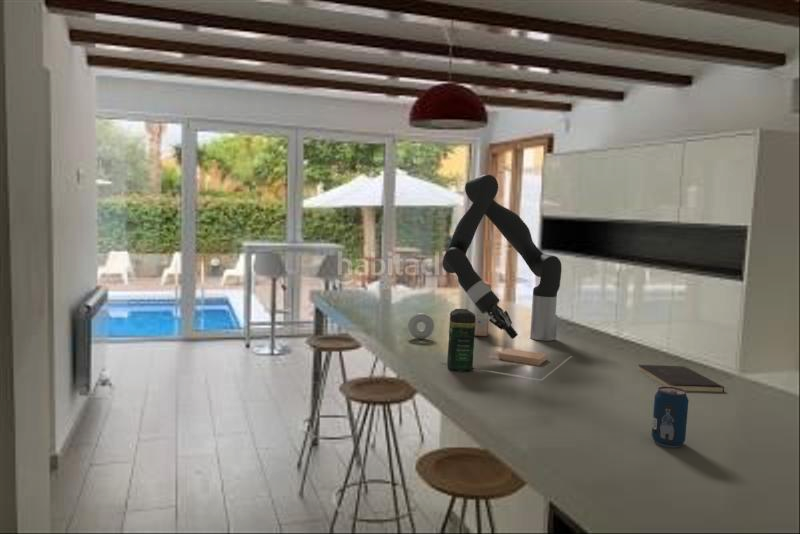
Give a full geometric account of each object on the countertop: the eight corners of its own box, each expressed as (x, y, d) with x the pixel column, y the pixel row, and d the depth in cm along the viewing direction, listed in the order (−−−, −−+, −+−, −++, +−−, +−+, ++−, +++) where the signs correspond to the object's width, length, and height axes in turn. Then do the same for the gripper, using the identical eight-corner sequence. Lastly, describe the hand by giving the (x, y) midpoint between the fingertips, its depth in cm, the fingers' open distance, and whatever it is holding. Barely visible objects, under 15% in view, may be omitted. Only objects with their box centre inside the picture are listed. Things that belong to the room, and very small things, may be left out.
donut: (432, 338, 244) (434, 312, 243) (434, 340, 241) (435, 314, 240) (406, 337, 243) (407, 311, 242) (407, 339, 240) (408, 313, 239)
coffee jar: (474, 372, 196) (477, 312, 194) (448, 371, 196) (452, 311, 194) (470, 364, 206) (473, 307, 204) (445, 363, 206) (448, 306, 204)
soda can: (675, 437, 146) (680, 386, 145) (690, 449, 139) (695, 395, 138) (645, 436, 146) (650, 385, 144) (659, 448, 139) (663, 394, 138)
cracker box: (488, 337, 251) (491, 284, 249) (473, 336, 251) (476, 283, 249) (484, 330, 265) (487, 280, 263) (470, 329, 265) (472, 279, 263)
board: (497, 353, 224) (497, 351, 224) (547, 360, 215) (548, 359, 215) (484, 359, 213) (485, 357, 213) (537, 368, 205) (538, 366, 205)
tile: (498, 353, 212) (539, 359, 206) (507, 348, 220) (547, 354, 214) (498, 358, 212) (539, 365, 206) (506, 353, 220) (547, 360, 214)
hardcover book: (670, 392, 186) (670, 384, 185) (637, 371, 208) (638, 364, 208) (723, 393, 186) (724, 386, 186) (685, 373, 209) (686, 366, 209)
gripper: (483, 291, 211) (517, 333, 207) (497, 288, 223) (529, 327, 218) (467, 305, 214) (500, 347, 210) (482, 301, 226) (513, 340, 221)
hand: (515, 336), depth 214 cm, fingers closed
